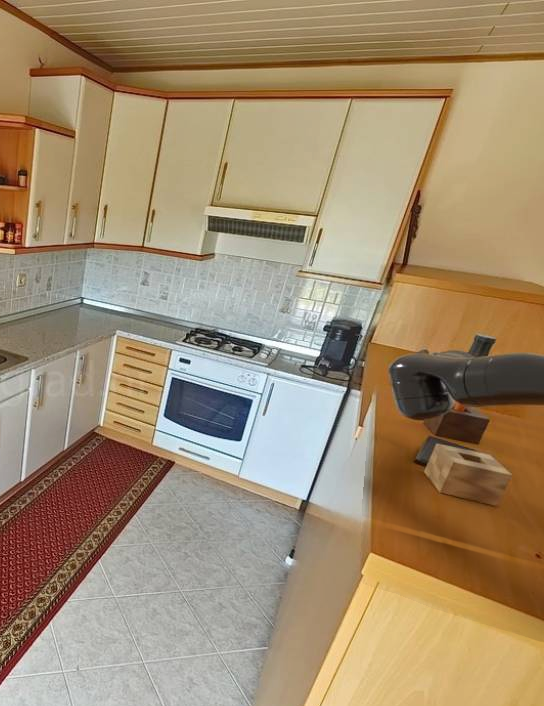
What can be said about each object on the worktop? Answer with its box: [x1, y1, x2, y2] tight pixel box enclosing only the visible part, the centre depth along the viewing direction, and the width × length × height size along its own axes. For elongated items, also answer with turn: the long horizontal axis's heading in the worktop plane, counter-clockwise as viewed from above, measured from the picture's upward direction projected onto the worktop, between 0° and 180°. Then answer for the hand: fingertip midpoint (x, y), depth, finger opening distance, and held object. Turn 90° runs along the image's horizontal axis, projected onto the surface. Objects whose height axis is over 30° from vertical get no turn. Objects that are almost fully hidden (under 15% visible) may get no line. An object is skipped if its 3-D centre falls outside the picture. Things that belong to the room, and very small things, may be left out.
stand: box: [423, 443, 513, 507], centre depth 85 cm, size 8×8×6 cm
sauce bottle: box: [455, 333, 497, 404], centre depth 125 cm, size 7×6×20 cm
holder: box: [423, 404, 491, 445], centre depth 110 cm, size 8×8×6 cm
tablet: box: [413, 435, 495, 467], centre depth 97 cm, size 18×11×1 cm, turn 135°
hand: (469, 363), depth 97 cm, fingers open, 8 cm apart
